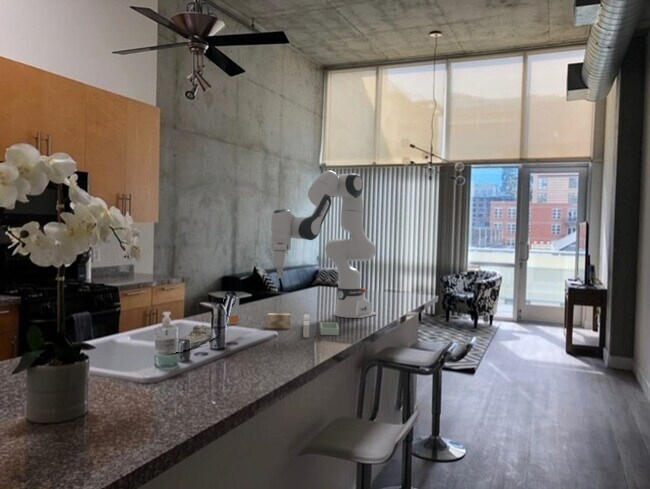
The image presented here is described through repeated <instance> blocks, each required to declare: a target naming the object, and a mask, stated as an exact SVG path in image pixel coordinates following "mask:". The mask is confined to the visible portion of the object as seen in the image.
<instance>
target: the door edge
mask: <svg viewBox="0 0 650 489" xmlns="http://www.w3.org/2000/svg"><path fill="white" fill-rule="evenodd" d="M302 333H303V334H302V335H303V336H302V337H303V338H310V313H308V314H307V313H305V314H303V330H302Z"/></svg>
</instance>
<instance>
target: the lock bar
mask: <svg viewBox="0 0 650 489" xmlns="http://www.w3.org/2000/svg"><path fill="white" fill-rule="evenodd" d="M266 316H267V319H266V320H267V325H266V326H267V327H266V328H267V329H291V313H284V312H282V313H280V312H279V313H277V312H276V313H275V312H274V313H273V312H271V313H270V312H269V313H267V315H266Z"/></svg>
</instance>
